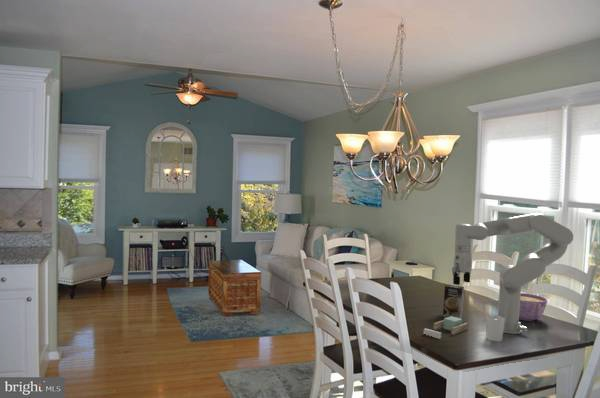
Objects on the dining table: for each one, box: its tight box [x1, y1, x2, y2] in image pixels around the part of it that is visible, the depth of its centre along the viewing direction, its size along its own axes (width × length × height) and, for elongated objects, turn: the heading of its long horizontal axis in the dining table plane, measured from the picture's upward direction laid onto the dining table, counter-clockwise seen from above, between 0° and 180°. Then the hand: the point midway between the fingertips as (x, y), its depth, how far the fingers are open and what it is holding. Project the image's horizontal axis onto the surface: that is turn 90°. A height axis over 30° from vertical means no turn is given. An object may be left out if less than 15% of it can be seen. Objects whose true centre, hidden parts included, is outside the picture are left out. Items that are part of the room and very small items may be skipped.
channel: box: [432, 319, 469, 336], centre depth 240 cm, size 10×14×3 cm
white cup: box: [485, 314, 505, 342], centre depth 227 cm, size 8×8×10 cm
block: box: [442, 316, 464, 332], centre depth 241 cm, size 6×7×5 cm
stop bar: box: [423, 327, 442, 339], centre depth 228 cm, size 8×2×2 cm, turn 44°
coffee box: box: [442, 284, 465, 319], centre depth 263 cm, size 9×6×16 cm
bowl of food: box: [519, 292, 548, 322], centre depth 264 cm, size 20×20×12 cm
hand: (461, 283), depth 248 cm, fingers open, 9 cm apart
